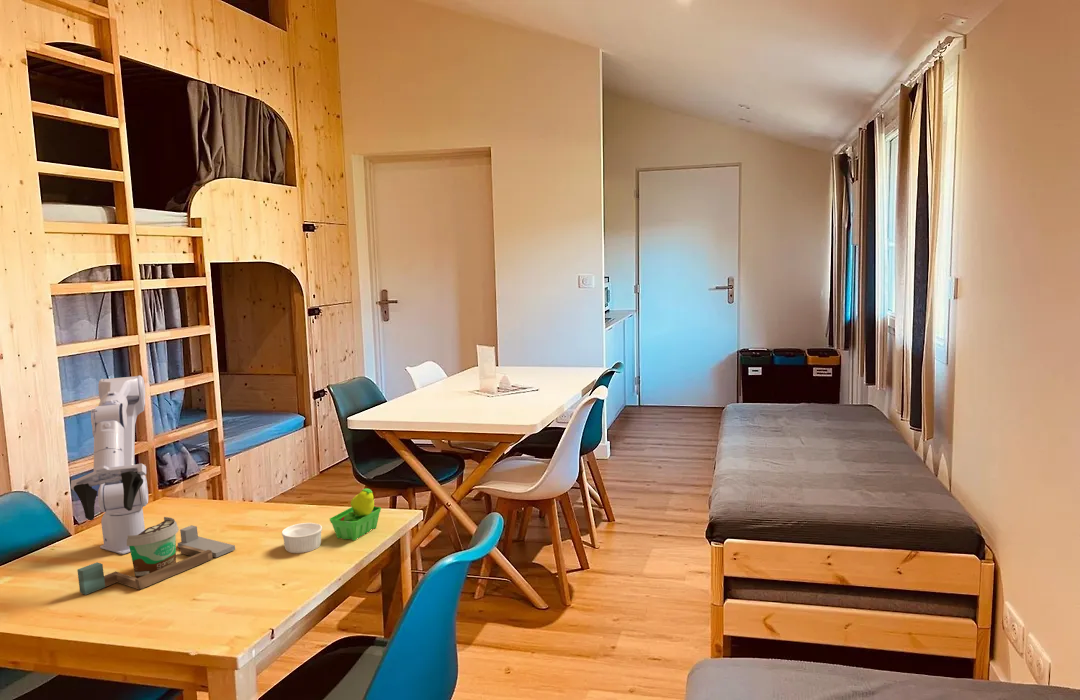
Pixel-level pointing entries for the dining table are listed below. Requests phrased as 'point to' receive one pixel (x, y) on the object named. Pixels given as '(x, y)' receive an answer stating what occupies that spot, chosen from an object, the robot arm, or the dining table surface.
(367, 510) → the fruit basket
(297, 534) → the ramekin
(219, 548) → the grey l-shaped block
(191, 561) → the walnut sled
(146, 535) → the food container
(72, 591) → the dining table surface
